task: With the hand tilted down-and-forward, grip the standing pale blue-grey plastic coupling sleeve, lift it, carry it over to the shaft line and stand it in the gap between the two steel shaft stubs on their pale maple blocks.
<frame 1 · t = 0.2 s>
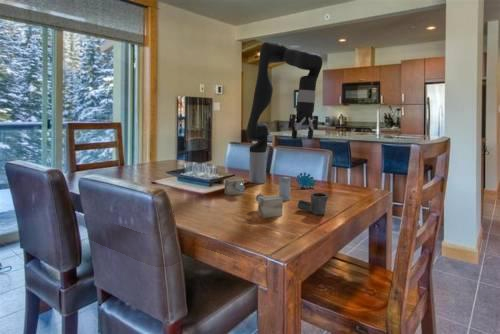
hand: (302, 138, 154), 28 cm above the table, tool pointing down, fingers open, 8 cm apart
pipe: (312, 213, 141), on the table
blue spiky round piece: (306, 188, 186), on the table
block 1: (234, 193, 171), on the table
block 2: (270, 215, 137), on the table
coupling: (284, 199, 161), on the table
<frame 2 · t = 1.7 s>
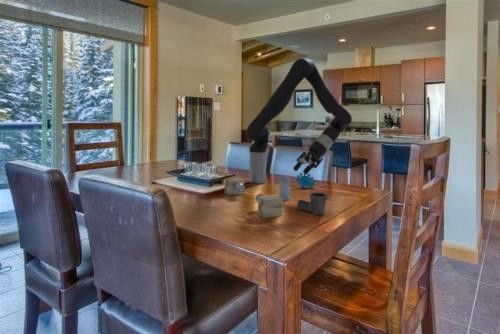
hand: (299, 171, 162), 12 cm above the table, tool tilted 45°, fingers open, 8 cm apart
nothing on the table moved.
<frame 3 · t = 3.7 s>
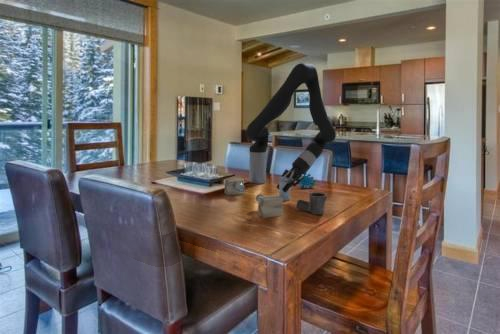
hand: (280, 189, 160), 5 cm above the table, tool tilted 45°, fingers closed on coupling, 4 cm apart
coupling: (284, 199, 161), on the table, touching gripper
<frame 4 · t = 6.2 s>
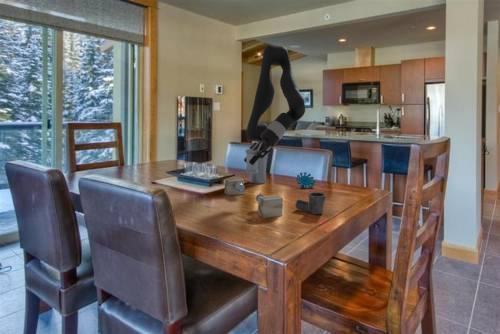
hand: (248, 162, 151), 18 cm above the table, tool tilted 45°, fingers closed on coupling, 4 cm apart
coupling: (251, 173, 152), point 13 cm above the table, touching gripper
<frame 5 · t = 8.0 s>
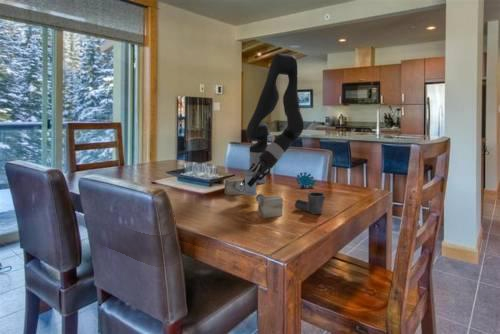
hand: (246, 184, 152), 9 cm above the table, tool tilted 45°, fingers closed on coupling, 4 cm apart
coupling: (250, 194, 154), point 4 cm above the table, touching gripper
when the fingers open (6 cm above the table, at t = 9.1 s): coupling stays where it is, on the table.
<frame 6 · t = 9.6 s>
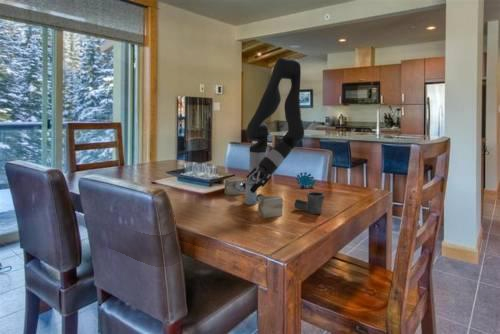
hand: (247, 189, 153), 6 cm above the table, tool tilted 45°, fingers open, 8 cm apart
coupling: (251, 203, 154), on the table
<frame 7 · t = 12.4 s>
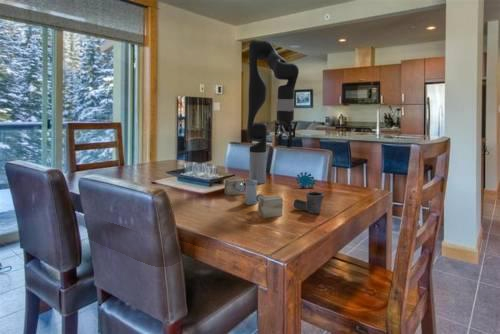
hand: (284, 146, 159), 24 cm above the table, tool pointing down, fingers open, 8 cm apart
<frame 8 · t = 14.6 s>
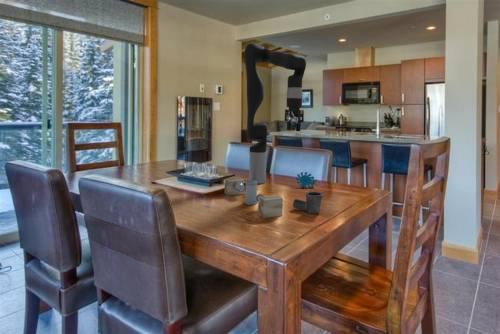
hand: (293, 130, 175), 30 cm above the table, tool pointing down, fingers open, 8 cm apart
at the end: coupling inside the target area (0.4 cm from its centre), on the table; coupling tilted 0°; the gripper is holding nothing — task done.
